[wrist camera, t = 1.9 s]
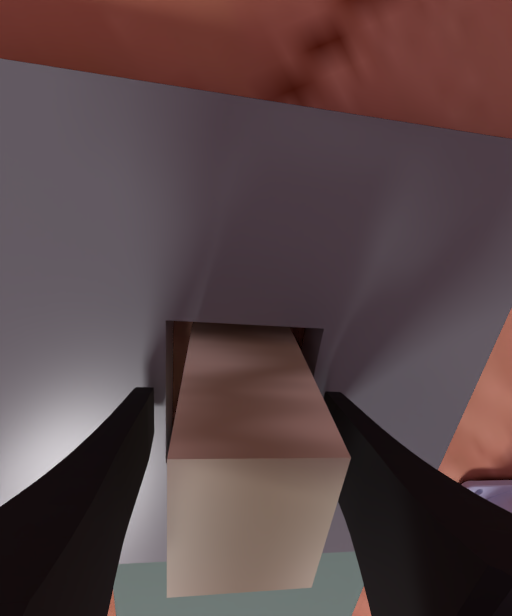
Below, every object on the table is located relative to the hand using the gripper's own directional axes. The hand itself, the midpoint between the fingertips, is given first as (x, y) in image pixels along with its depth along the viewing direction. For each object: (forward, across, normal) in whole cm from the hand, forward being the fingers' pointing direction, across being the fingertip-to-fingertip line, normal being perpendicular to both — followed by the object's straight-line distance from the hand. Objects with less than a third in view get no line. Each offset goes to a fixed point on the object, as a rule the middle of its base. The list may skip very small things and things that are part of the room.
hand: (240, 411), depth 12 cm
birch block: (+3, 0, 0) cm, 3 cm away
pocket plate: (+3, 0, 0) cm, 3 cm away
